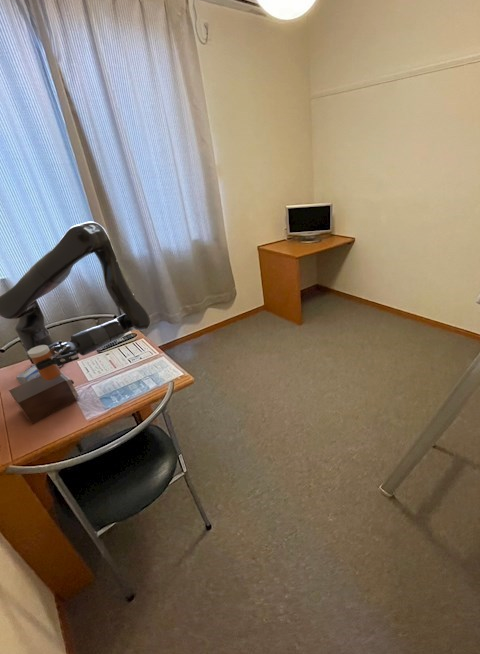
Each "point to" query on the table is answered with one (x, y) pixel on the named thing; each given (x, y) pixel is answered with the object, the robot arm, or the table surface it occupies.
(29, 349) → the robot arm
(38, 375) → the medicine box
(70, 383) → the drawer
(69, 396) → the dark brown box
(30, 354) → the pill bottle
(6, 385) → the table surface
